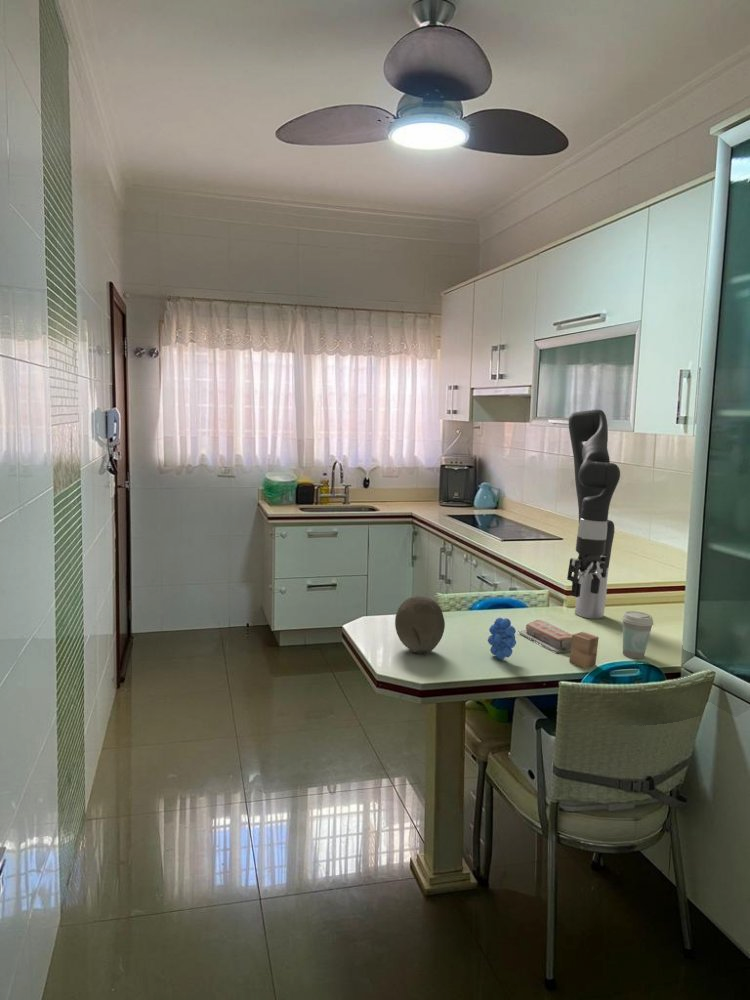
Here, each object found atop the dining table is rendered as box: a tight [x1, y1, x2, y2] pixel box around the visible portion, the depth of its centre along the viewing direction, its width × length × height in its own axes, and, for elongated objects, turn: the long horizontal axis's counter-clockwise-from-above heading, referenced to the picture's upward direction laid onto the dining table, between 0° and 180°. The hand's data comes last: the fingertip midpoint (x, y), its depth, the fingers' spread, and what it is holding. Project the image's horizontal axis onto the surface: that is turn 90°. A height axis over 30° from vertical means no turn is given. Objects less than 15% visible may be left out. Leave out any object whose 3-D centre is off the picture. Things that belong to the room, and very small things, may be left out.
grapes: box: [487, 617, 517, 661], centre depth 198 cm, size 12×7×12 cm, turn 23°
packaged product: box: [517, 619, 573, 654], centre depth 216 cm, size 18×5×10 cm
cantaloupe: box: [394, 595, 446, 654], centre depth 200 cm, size 14×14×15 cm
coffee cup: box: [621, 610, 654, 660], centre depth 209 cm, size 9×8×12 cm
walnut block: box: [568, 631, 599, 669], centre depth 199 cm, size 5×5×8 cm
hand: (584, 594), depth 198 cm, fingers open, 8 cm apart
